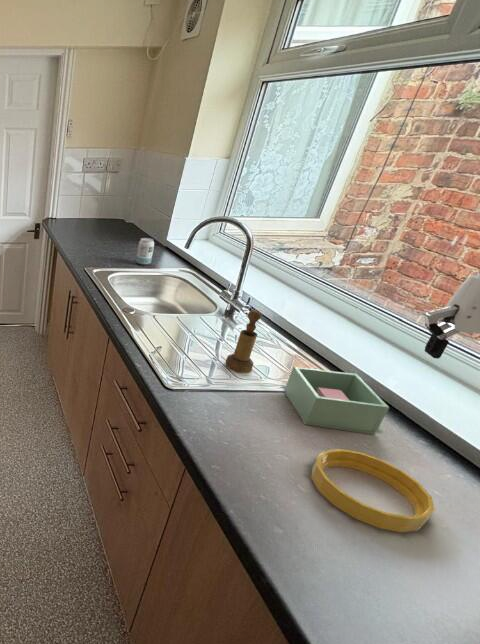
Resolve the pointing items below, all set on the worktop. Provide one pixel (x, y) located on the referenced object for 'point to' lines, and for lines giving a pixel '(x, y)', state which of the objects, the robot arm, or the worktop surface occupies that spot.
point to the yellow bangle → (382, 471)
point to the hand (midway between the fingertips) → (463, 358)
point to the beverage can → (145, 251)
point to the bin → (335, 400)
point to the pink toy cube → (331, 393)
